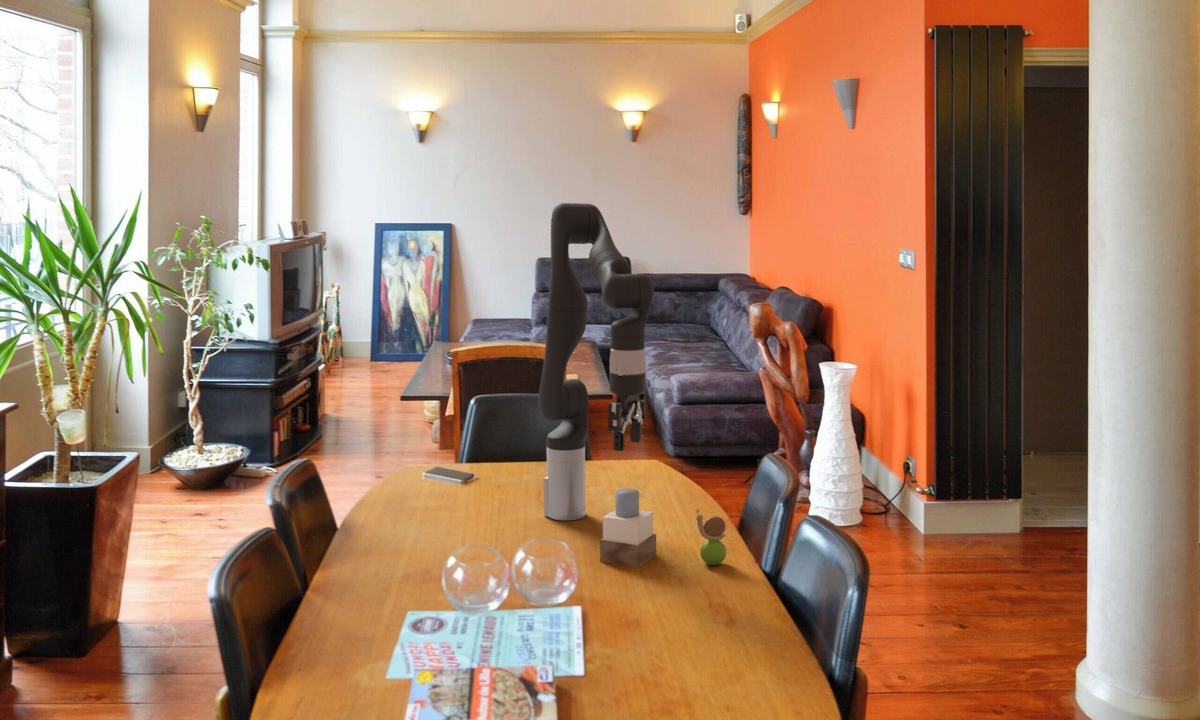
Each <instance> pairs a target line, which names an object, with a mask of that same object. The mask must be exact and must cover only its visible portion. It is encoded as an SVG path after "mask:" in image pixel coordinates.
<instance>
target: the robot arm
mask: <svg viewBox="0 0 1200 720" xmlns="http://www.w3.org/2000/svg"><path fill="white" fill-rule="evenodd" d="M588 244H591V245H592V247H591V248H590V251H589V252H588V253H589V255H588V264H589V266H590V269H591V271H592V272H593V273H594V275H595V276H596V278H597V279H598V280H599V283H600V287H601V296H602V300H603V302H604V303H605V305H607V306H608V307H609V308H611V309H617V310H619V309H630V313H629V314H628V315H627V316H626V317H624V318H621V319H617V320H615V321H613V322H612V323H611V326H610V353H609V392H610V393H611V394H613V395H615V396H616V397H615V401H614V402H612V401H611V402H609V403H608V411H607V413H608V414H607V416H608V417H607V431H608V432H612V433H613V451H616V452H617V451H618V452H623V451H625V447H626V445H625V440H626V437H625V436H626V435H625V431H626V427H627V425H630V426H629V427H630V428H629V430H630V433H629V435H630V436H629V437H630V438H629V440H630V442H633V443H640V442H641V441H642V425H643V421H645V420H646V419H647V401H646V400H647V398H646V397H647V395H646V393H645V392H646V389H647V387H646V376H647V375H646V374H647V373H646V369H647V367H646V360H647V359H646V352H645V346H646V345H645V342H646V340H645V334H646V333H645V331H646V325H647V321H648V316H649V313H650V309H651V305H652V302H653V298H654V291H655V290H654V284H653V281H652V279H651V278H650V277H649V276H648V275H647V274H645V273H632V271H631V267H630V265H629V263H628V262H627V260H626V259H625V257H624V256H623V255H622V253H621V252H620V251H619V249H618V248H617V246H616V245H615V243H614V240H613V239H612V236H611V233H610V230H609V228H608V225H607V222H606V220H605V218H604V216H603V214H602V212H601V210H600V209H599V208H598V207H597V206H596V205H594V204H591V203H576V202H575V203H574V202H573V203H572V202H571V203H570V202H559V203H557V204H556V205H554V208H553V210H552V213H551V220H550V282H549V292H548V303H547V313H546V314H547V315H546V338H545V340H546V341H545V348H544V349H545V350H544V360H543V366H542V372H541V377H540V382H539V383H540V384H539V390H538V406H539V411H540V414H541V415H542V417H543V418H544V419H546V421H551V422H552V421H561V423H560V424H559V425H558V426H557V427H556V428H555V429H553V430H552V431H551V432H549V433H548V434H547V436H546V476H545V477H544V478H543V516H544V517H548V518H549V519H552V520H557V521H575V520H579V519H582V518H584V517H586V507H587V506H586V439H587V436H588V427H589V426H588V425H589V409H590V408H589V407H590V406H589V405H590V404H589V394H588V389H587V387H586V385H585V383H584V382H583V381H582V380H581V379H578V378H570V379H565V376H566V375H565V374H566V369H567V366H568V363H569V361H570V358H571V357H572V356H573V353H574V351H575V350H576V348H577V346H578V344H579V343H580V342H581V340H582V338H583V336H584V334H585V331H586V328H587V317H588V306H589V305H588V304H589V303H588V298H587V295H586V293H585V291H584V289H583V287H582V285H581V283H580V281H579V279H578V278H577V276H576V274H575V272H574V270H573V268H572V267H573V266H572V264H571V261H570V253H569V251H570V250H569V247H570V246H569V245H588Z"/></svg>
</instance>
